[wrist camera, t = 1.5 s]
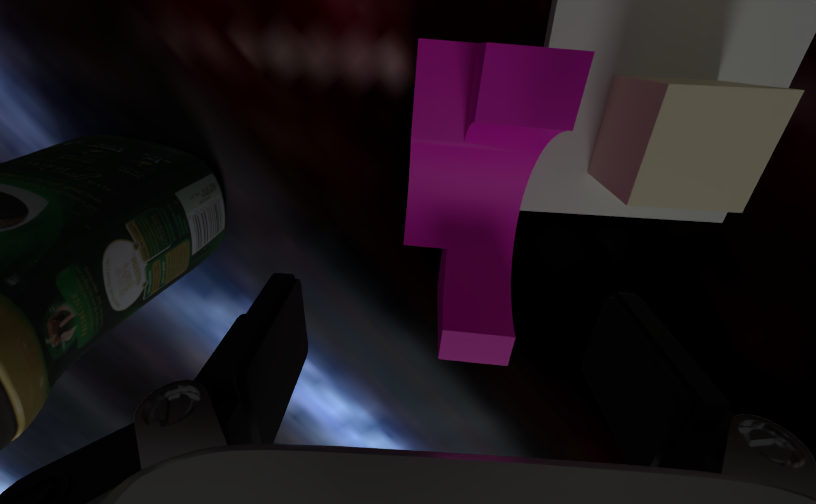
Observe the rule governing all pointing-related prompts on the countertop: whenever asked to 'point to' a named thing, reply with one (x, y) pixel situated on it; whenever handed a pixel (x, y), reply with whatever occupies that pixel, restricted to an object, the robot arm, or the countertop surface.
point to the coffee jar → (90, 252)
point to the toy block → (481, 173)
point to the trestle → (672, 105)
